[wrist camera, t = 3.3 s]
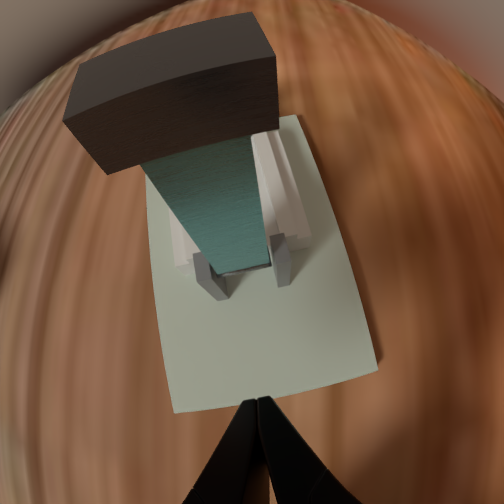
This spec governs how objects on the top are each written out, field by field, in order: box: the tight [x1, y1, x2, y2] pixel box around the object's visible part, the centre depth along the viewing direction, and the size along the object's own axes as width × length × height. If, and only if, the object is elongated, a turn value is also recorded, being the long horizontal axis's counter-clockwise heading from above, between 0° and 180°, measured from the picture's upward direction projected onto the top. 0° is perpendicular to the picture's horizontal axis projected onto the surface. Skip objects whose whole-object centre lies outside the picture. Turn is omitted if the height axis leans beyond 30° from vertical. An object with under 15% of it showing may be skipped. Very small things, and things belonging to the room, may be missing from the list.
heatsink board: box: [146, 115, 378, 413], centre depth 20 cm, size 22×14×6 cm, turn 12°
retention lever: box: [62, 12, 280, 279], centre depth 11 cm, size 2×4×14 cm, turn 101°
